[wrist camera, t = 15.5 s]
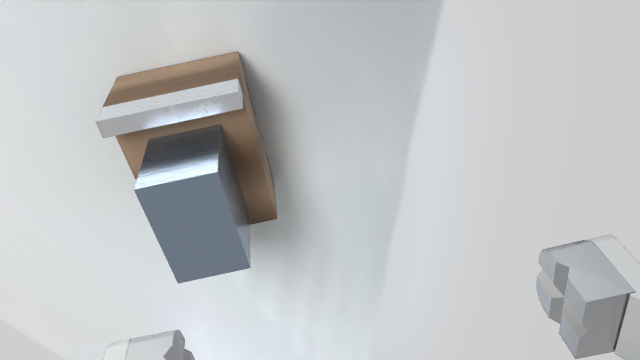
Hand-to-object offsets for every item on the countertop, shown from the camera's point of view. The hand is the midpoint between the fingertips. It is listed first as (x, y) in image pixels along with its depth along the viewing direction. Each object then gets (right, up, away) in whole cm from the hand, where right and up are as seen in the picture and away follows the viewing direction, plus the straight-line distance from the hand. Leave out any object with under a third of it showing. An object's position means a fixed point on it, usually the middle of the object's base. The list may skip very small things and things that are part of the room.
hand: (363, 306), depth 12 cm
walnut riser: (-10, +6, +29) cm, 32 cm away
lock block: (-10, +3, +26) cm, 28 cm away
